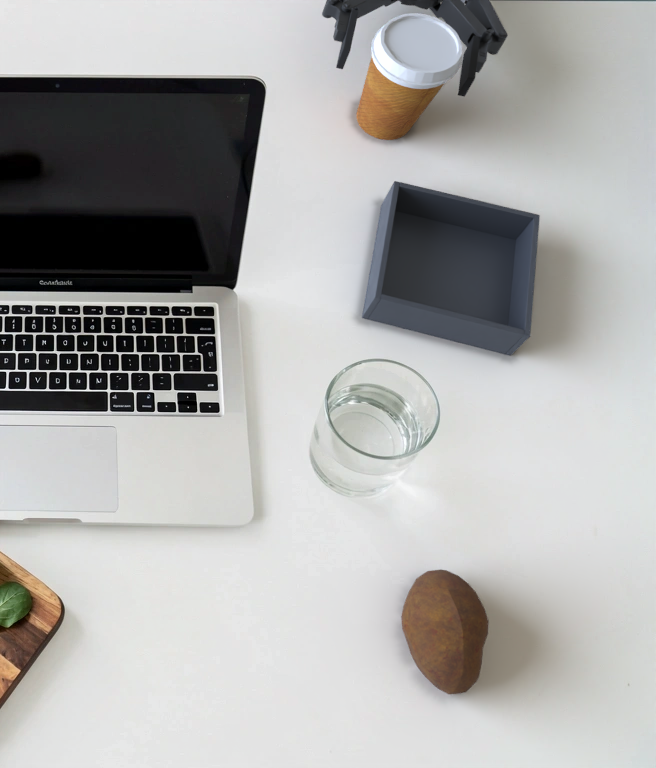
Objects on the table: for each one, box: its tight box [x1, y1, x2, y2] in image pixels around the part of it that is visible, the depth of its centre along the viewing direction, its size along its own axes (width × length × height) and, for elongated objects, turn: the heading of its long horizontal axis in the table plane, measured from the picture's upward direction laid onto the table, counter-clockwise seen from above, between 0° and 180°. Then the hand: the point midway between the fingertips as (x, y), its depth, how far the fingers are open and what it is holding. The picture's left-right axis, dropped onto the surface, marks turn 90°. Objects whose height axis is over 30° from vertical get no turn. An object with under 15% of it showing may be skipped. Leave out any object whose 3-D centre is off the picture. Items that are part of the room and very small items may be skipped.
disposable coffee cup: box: [356, 12, 463, 141], centre depth 100 cm, size 10×10×12 cm
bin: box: [361, 180, 541, 357], centre depth 94 cm, size 15×15×5 cm
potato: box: [400, 569, 489, 695], centre depth 77 cm, size 7×10×7 cm
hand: (404, 73), depth 100 cm, fingers open, 13 cm apart
